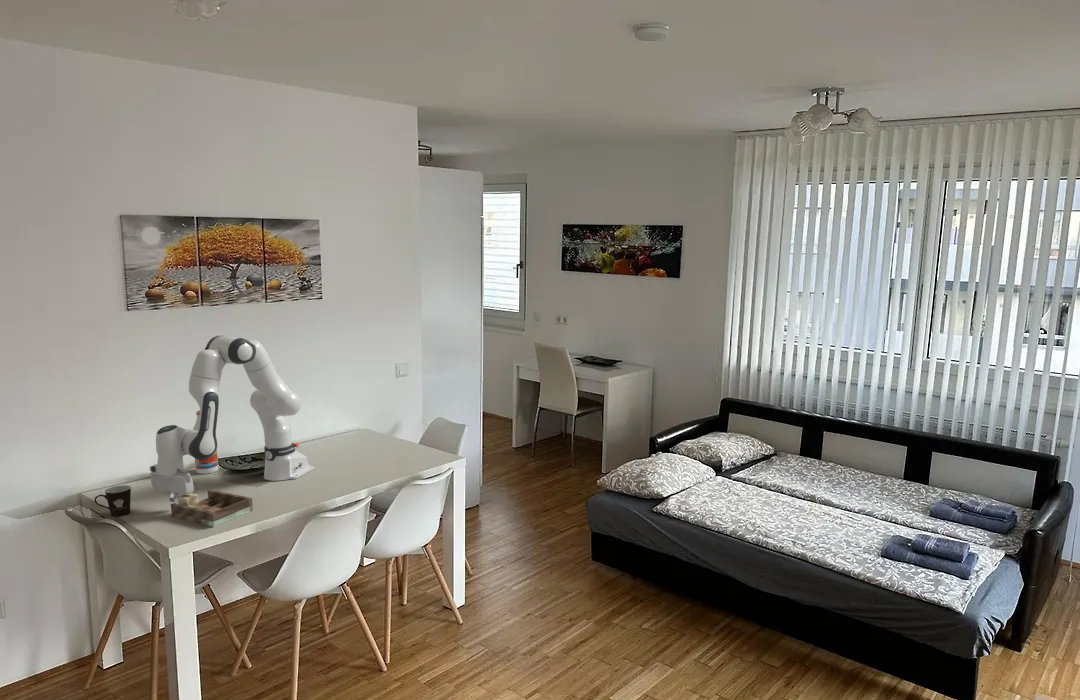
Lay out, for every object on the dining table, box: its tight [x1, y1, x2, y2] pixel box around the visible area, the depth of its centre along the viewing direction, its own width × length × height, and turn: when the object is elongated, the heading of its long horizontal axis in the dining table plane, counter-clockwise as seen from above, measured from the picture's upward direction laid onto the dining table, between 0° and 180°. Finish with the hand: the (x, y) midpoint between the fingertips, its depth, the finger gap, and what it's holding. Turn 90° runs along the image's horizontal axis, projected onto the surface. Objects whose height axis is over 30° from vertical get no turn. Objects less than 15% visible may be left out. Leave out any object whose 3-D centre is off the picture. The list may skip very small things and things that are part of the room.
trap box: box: [170, 489, 254, 528], centre depth 283 cm, size 23×18×5 cm
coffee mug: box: [94, 484, 132, 518], centre depth 283 cm, size 12×9×10 cm
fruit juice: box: [192, 409, 219, 475], centre depth 332 cm, size 9×9×28 cm
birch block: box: [178, 493, 200, 508], centre depth 283 cm, size 5×5×5 cm
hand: (174, 501), depth 287 cm, fingers closed
